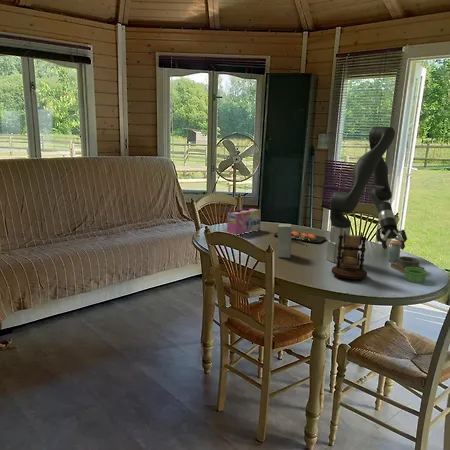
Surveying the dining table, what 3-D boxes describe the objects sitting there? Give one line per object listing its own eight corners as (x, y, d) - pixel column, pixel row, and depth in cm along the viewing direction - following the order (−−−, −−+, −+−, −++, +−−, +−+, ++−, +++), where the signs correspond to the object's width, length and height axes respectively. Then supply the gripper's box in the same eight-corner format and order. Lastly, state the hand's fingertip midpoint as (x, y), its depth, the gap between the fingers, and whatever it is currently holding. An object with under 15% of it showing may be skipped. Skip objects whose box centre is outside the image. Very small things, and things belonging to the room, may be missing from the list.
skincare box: (290, 258, 200) (292, 227, 196) (275, 257, 201) (277, 226, 198) (291, 253, 208) (293, 223, 204) (277, 252, 209) (279, 222, 206)
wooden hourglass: (364, 272, 182) (369, 229, 178) (368, 284, 168) (373, 237, 164) (330, 269, 185) (334, 226, 181) (331, 280, 171) (335, 234, 167)
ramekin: (428, 279, 175) (430, 270, 174) (422, 285, 169) (423, 275, 168) (407, 274, 181) (408, 265, 180) (400, 279, 174) (401, 269, 174)
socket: (406, 274, 181) (407, 263, 180) (390, 267, 190) (391, 257, 189) (423, 272, 185) (425, 261, 184) (407, 265, 194) (408, 255, 193)
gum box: (252, 228, 262) (253, 207, 260) (261, 230, 257) (263, 209, 254) (226, 234, 246) (227, 211, 243) (236, 236, 240) (236, 213, 237)
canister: (392, 263, 196) (395, 243, 194) (385, 260, 201) (387, 240, 199) (401, 262, 198) (404, 242, 196) (393, 259, 203) (396, 240, 201)
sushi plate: (327, 240, 239) (328, 234, 238) (308, 251, 214) (309, 244, 213) (282, 233, 254) (282, 227, 253) (259, 242, 229) (259, 236, 228)
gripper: (376, 216, 204) (382, 244, 196) (404, 217, 205) (411, 245, 196) (371, 224, 211) (377, 252, 202) (398, 224, 211) (405, 252, 202)
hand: (394, 248), depth 199 cm, fingers open, 8 cm apart
